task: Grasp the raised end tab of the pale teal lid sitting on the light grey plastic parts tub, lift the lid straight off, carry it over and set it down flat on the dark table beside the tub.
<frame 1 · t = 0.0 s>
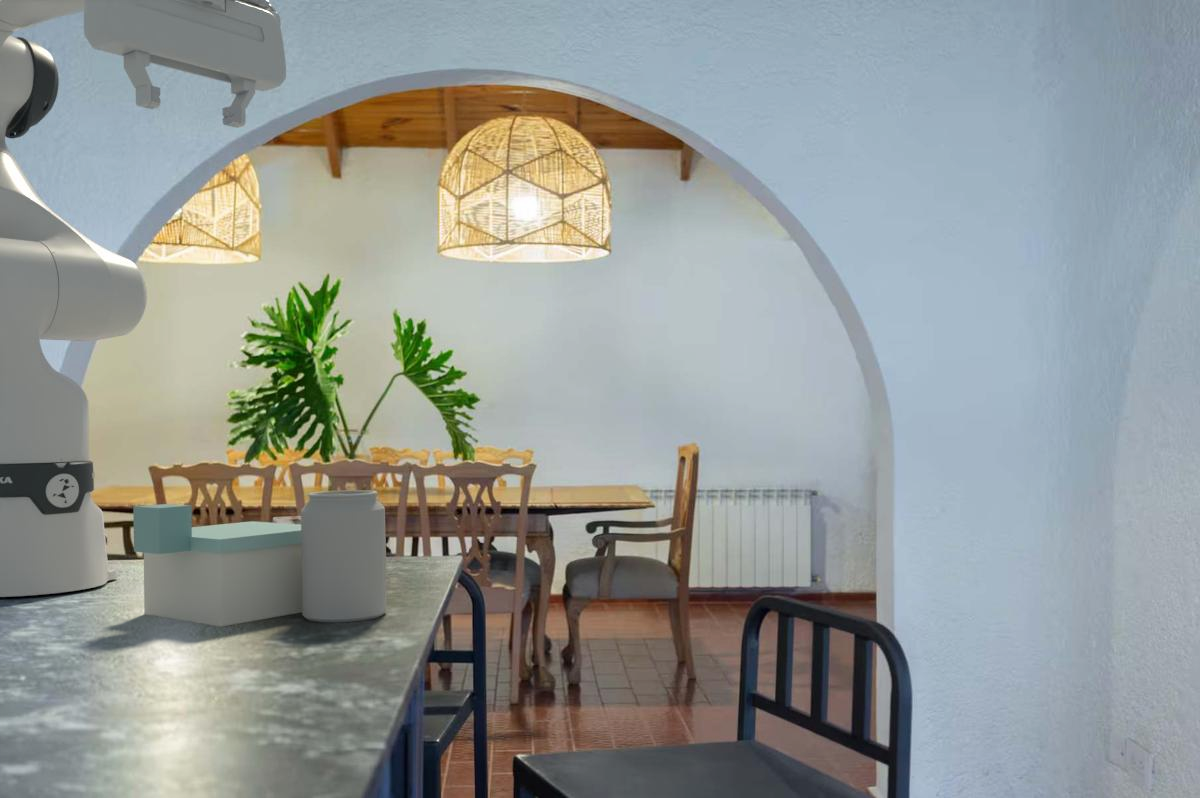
hand: (192, 116, 113), 48 cm above the counter, fingers open, 8 cm apart
lid: (237, 542, 110), point 7 cm above the counter, touching tub
tub: (238, 616, 110), on the counter
supplement bottle: (358, 608, 115), on the counter
medicine box: (316, 594, 125), on the counter
can: (344, 624, 106), on the counter
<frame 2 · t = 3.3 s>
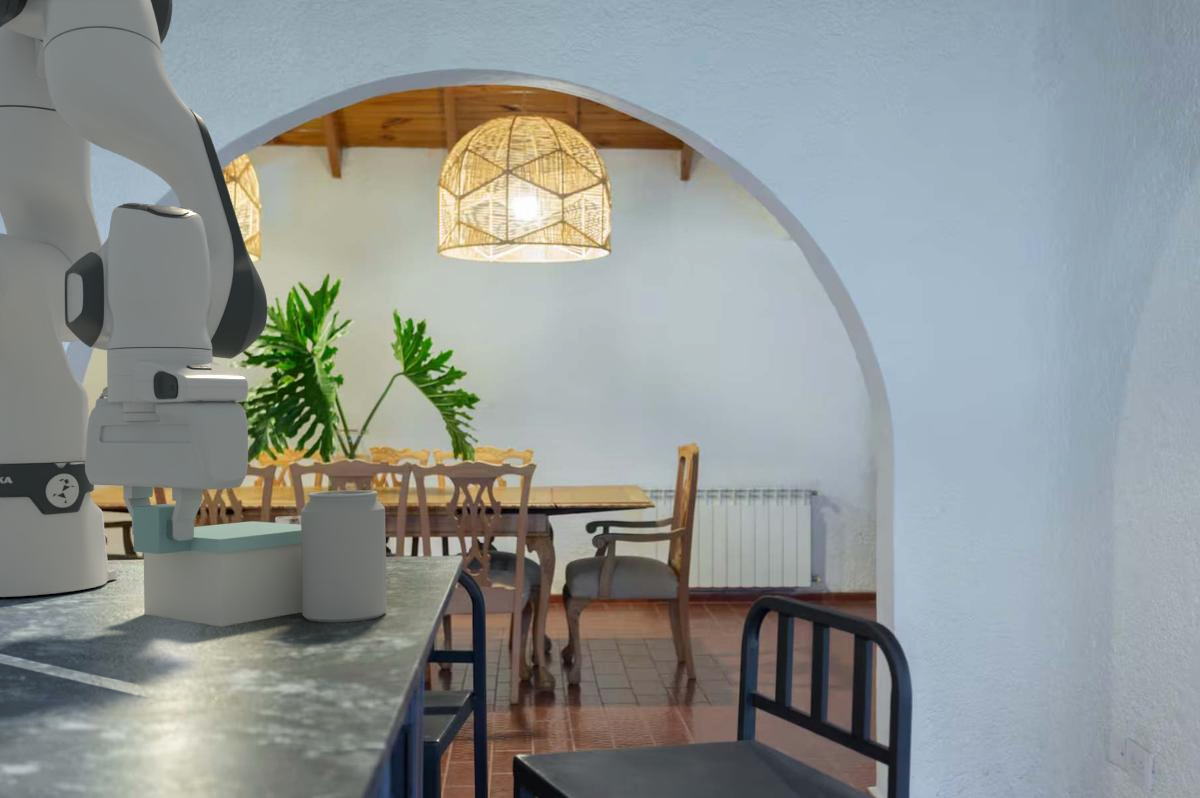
hand: (162, 538, 104), 8 cm above the counter, fingers closed on lid, 4 cm apart
lid: (237, 542, 110), point 7 cm above the counter, touching gripper, tub
everything else where it was.
when the fingers open (4 cm above the counter, at t = 10.7 s): lid drops 2 cm, point 1 cm above the counter.
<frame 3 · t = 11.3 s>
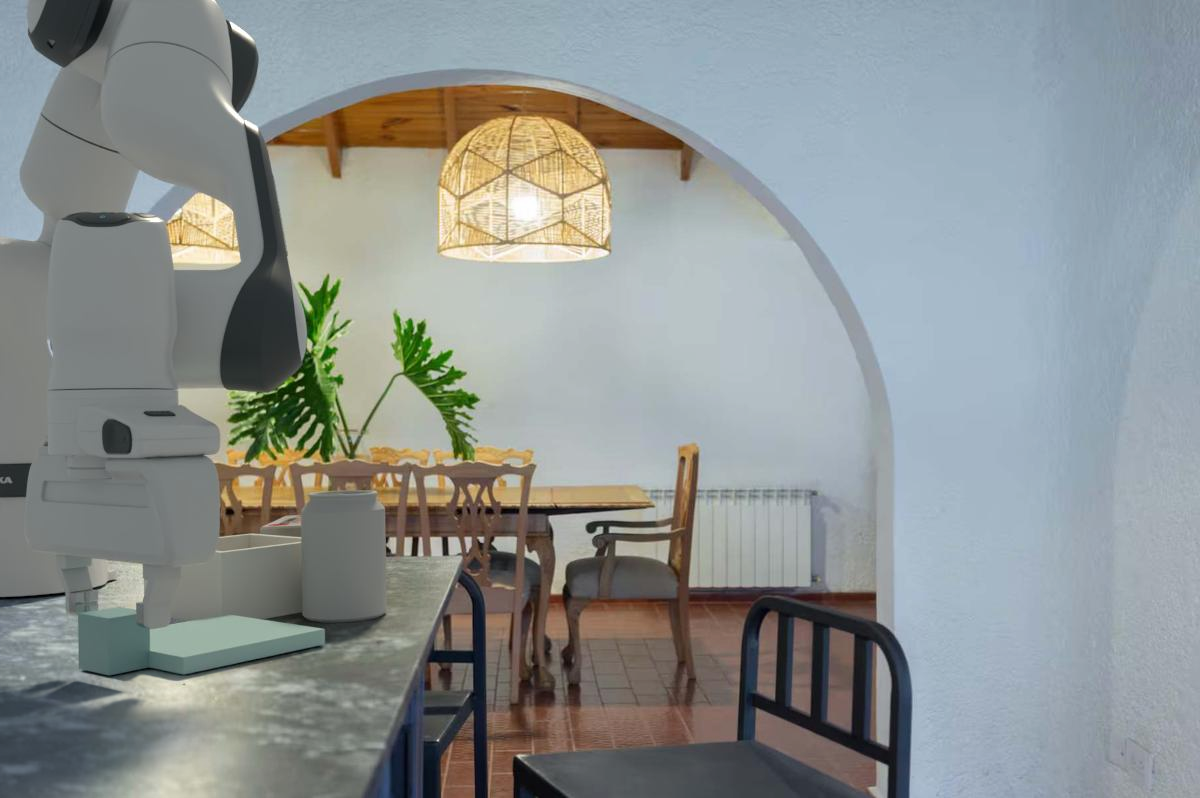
hand: (116, 620, 85), 4 cm above the counter, fingers open, 8 cm apart
lid: (207, 649, 91), point 1 cm above the counter
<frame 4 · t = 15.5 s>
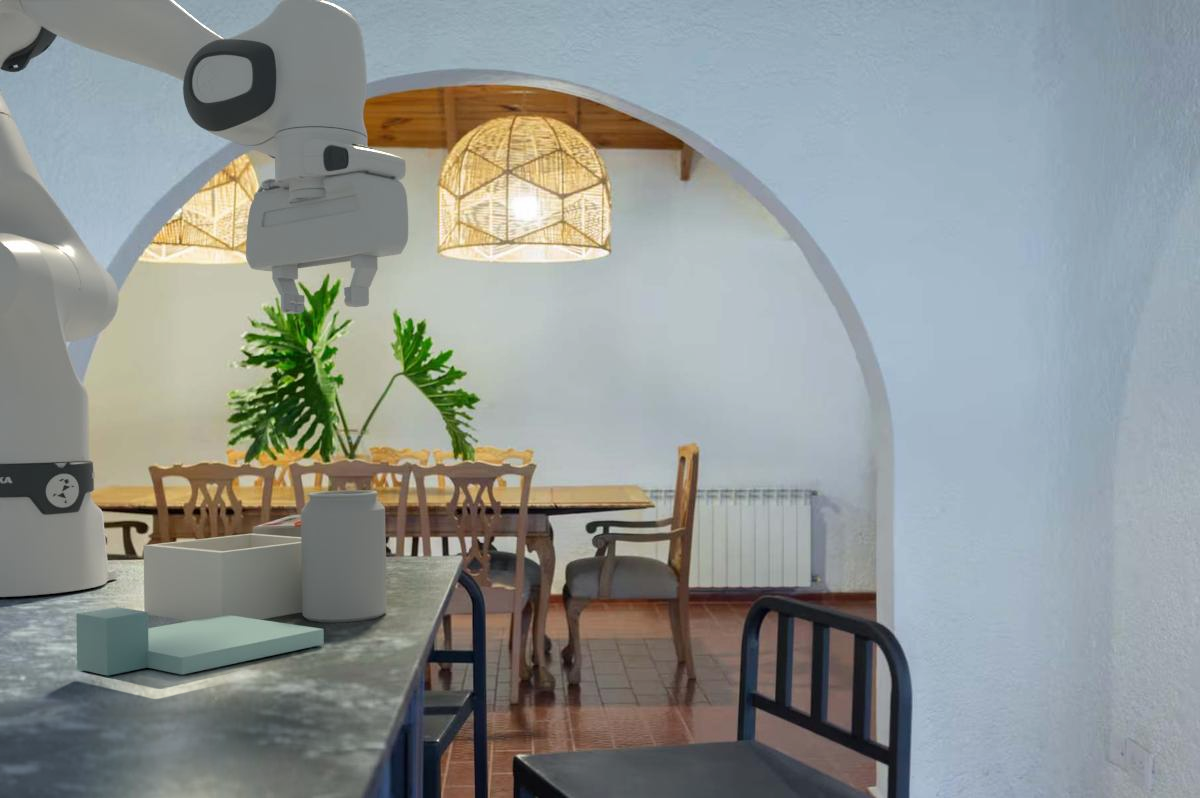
hand: (324, 309, 113), 29 cm above the counter, fingers open, 8 cm apart
at the end: lid inside the target area (0.3 cm from its centre), point 0.7 cm above the counter; lid touching counter; lid tilted 0° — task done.
